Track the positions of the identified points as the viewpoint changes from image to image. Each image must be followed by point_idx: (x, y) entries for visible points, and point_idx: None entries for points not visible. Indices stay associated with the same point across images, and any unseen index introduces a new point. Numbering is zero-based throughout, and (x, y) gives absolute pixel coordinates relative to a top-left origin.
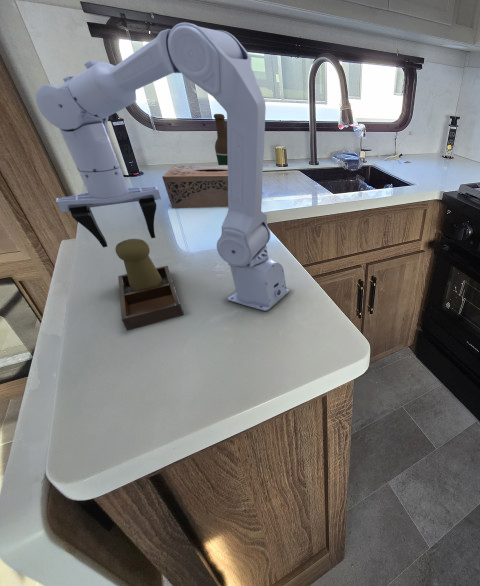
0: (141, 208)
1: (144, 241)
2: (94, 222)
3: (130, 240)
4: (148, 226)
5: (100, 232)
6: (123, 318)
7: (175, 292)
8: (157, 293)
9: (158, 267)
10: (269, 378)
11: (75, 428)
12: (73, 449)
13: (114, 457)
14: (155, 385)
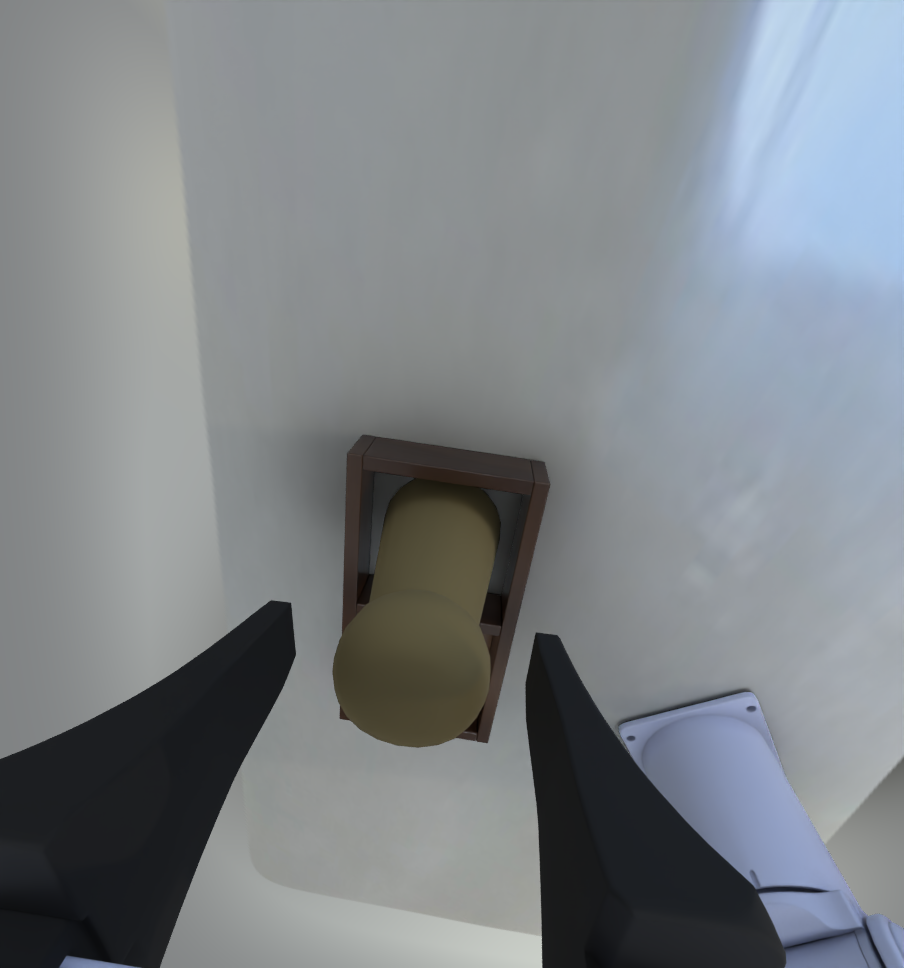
0: (563, 919)
1: (479, 698)
2: (194, 858)
3: (410, 701)
4: (536, 788)
5: (246, 706)
6: (344, 717)
7: (499, 687)
8: None
9: (510, 479)
10: (539, 914)
11: (268, 834)
12: (269, 856)
13: (315, 888)
14: (379, 835)
